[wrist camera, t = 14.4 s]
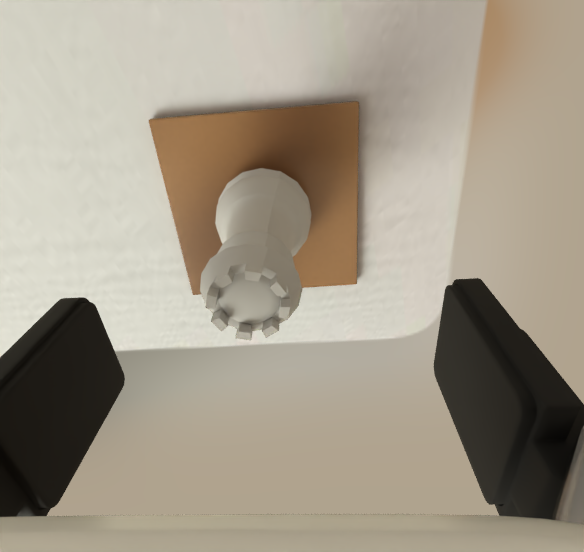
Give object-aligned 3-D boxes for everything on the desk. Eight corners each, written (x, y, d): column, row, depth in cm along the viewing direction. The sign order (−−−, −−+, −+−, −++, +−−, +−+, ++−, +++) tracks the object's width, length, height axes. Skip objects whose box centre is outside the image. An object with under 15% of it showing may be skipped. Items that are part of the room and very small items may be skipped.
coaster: (357, 100, 16) (359, 101, 16) (355, 280, 20) (356, 284, 20) (151, 118, 16) (148, 119, 16) (194, 291, 21) (192, 295, 20)
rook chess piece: (234, 150, 17) (192, 215, 10) (326, 186, 17) (348, 271, 10) (208, 235, 19) (158, 340, 12) (291, 264, 19) (290, 378, 13)
